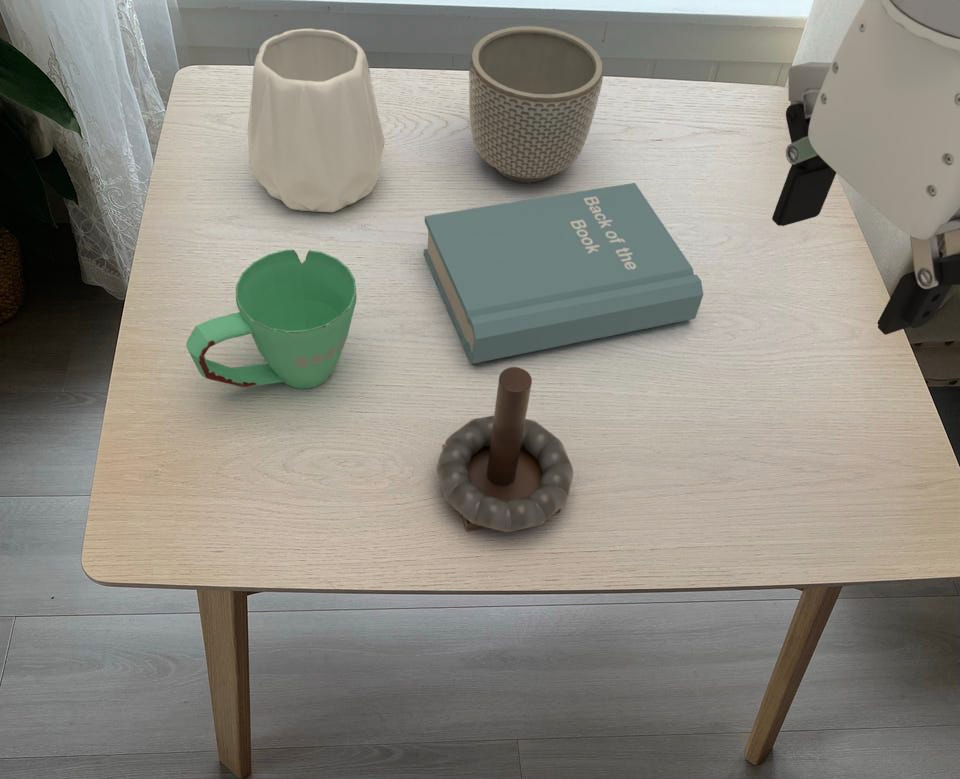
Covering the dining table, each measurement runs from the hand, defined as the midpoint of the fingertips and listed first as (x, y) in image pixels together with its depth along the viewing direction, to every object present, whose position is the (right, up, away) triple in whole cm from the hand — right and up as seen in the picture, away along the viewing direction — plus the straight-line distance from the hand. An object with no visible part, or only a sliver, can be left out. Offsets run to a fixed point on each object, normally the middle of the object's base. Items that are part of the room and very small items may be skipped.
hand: (845, 269), depth 55 cm
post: (-20, -15, +24) cm, 34 cm away
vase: (-39, +15, +48) cm, 63 cm away
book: (-14, +3, +39) cm, 42 cm away
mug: (-39, -6, +30) cm, 49 cm away
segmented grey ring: (-19, -14, +22) cm, 32 cm away
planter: (-16, +18, +52) cm, 58 cm away
